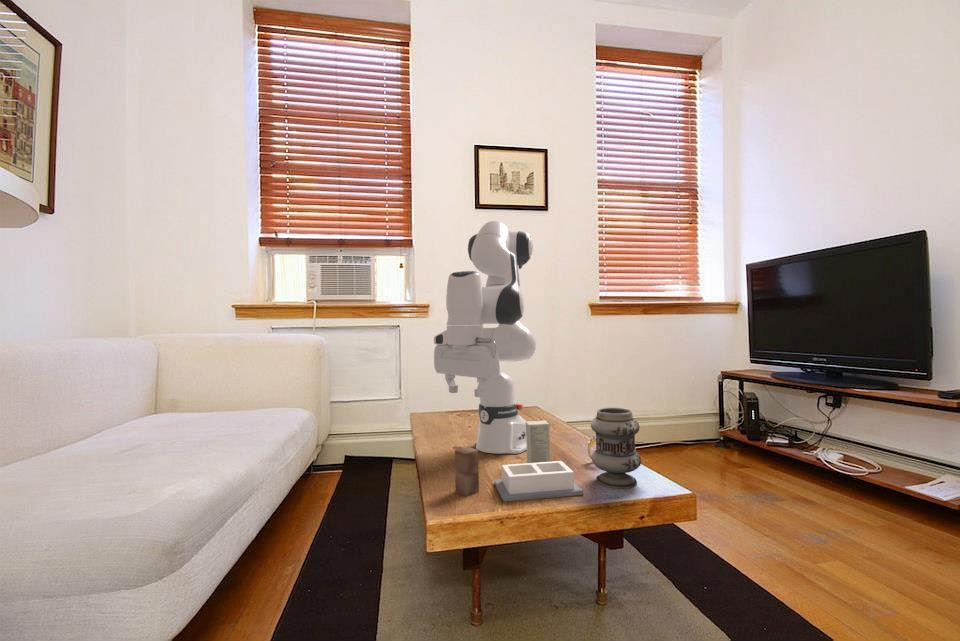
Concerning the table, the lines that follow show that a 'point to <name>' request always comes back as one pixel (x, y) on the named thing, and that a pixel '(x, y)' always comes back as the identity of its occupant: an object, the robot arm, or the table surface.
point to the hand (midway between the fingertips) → (465, 394)
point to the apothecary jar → (615, 447)
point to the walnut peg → (466, 471)
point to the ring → (590, 444)
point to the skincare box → (537, 441)
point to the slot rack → (536, 481)
